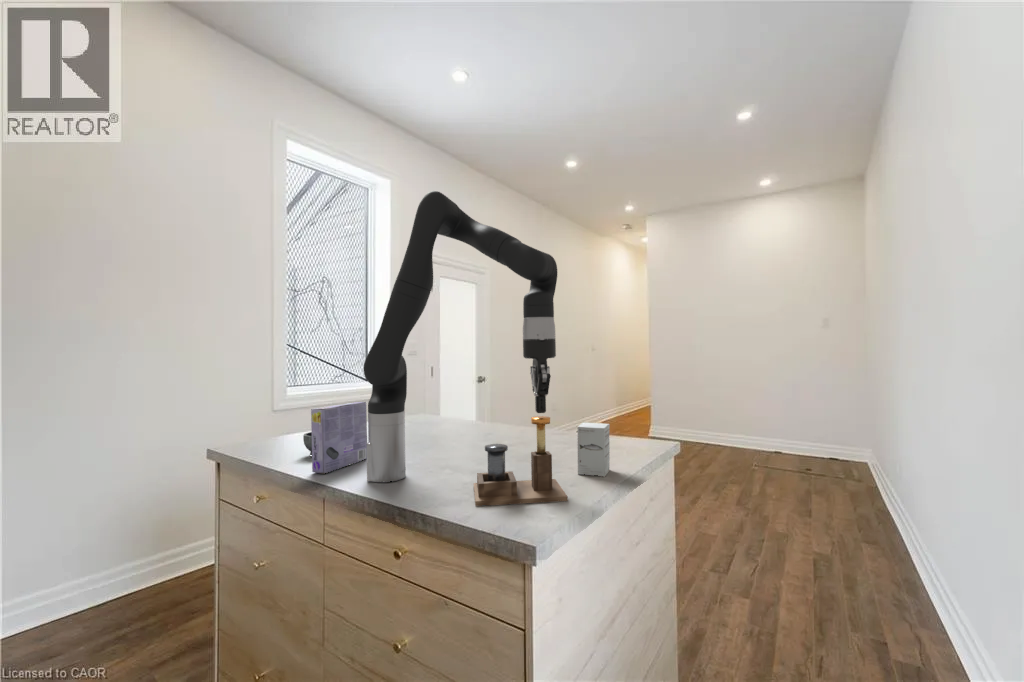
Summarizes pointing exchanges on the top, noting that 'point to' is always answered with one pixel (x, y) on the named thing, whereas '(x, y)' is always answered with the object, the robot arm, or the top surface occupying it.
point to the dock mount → (521, 486)
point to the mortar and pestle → (308, 441)
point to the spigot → (496, 461)
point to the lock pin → (540, 432)
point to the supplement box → (593, 449)
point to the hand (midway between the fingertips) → (540, 412)
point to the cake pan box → (338, 436)
